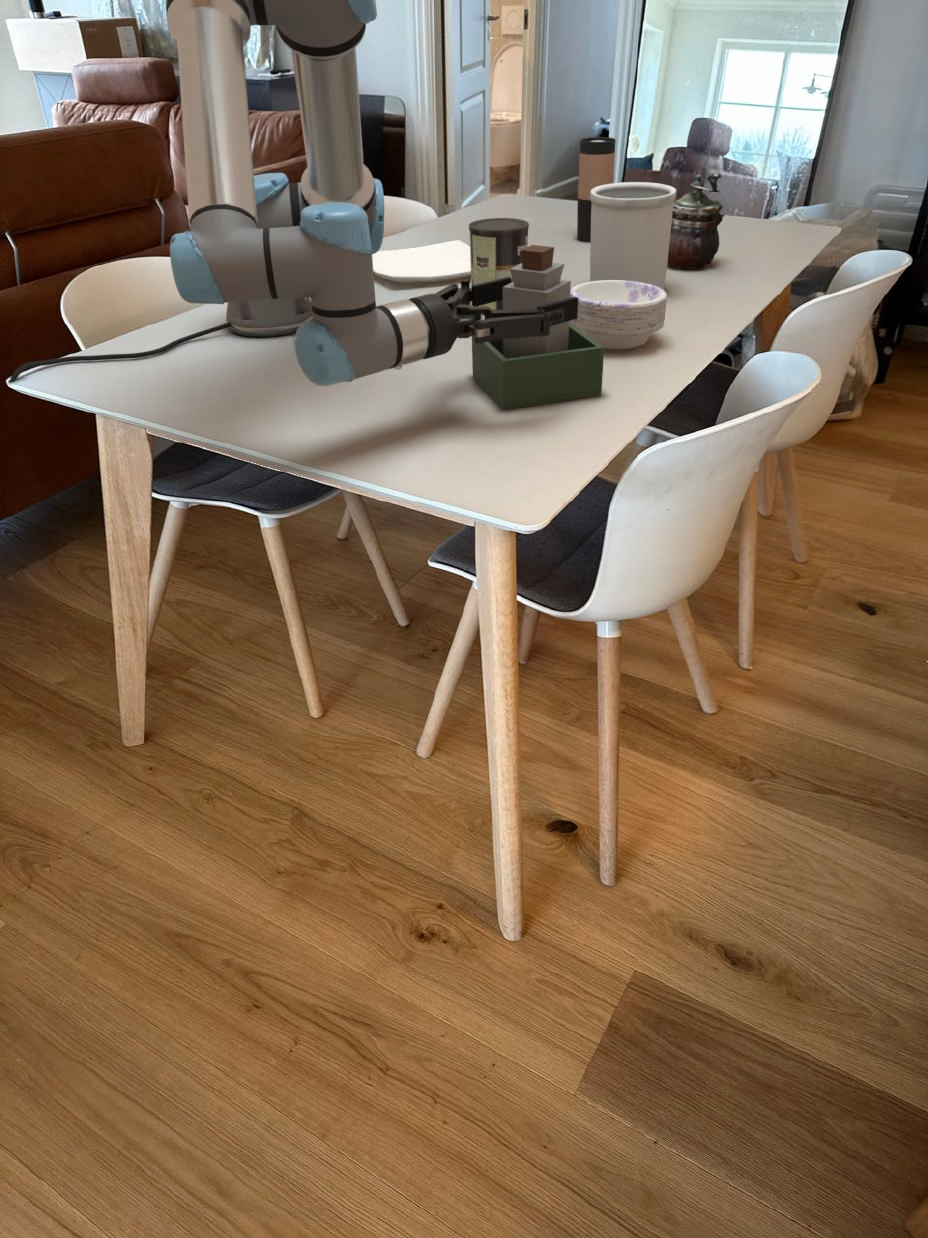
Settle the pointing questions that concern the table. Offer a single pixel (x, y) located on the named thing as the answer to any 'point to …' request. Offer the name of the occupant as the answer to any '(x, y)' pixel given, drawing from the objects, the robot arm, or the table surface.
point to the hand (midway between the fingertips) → (541, 296)
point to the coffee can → (496, 250)
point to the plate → (424, 263)
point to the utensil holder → (631, 232)
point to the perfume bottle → (536, 300)
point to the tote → (540, 372)
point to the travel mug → (592, 177)
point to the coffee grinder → (695, 227)
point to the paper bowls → (619, 312)
